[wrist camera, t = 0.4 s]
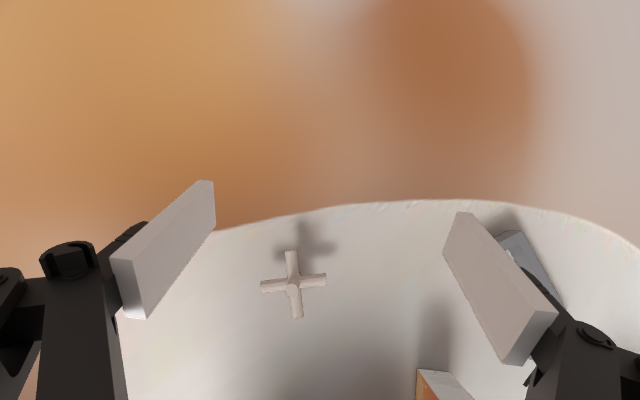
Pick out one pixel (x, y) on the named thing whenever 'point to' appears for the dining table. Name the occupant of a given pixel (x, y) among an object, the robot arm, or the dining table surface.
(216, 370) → the dining table surface
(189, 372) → the dining table surface
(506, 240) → the square bracket
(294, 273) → the pipe connector
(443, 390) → the small box
